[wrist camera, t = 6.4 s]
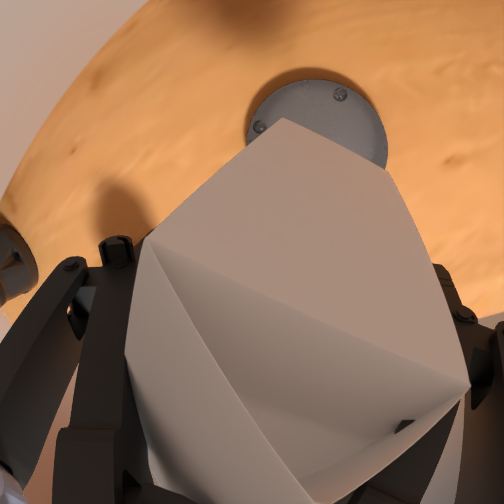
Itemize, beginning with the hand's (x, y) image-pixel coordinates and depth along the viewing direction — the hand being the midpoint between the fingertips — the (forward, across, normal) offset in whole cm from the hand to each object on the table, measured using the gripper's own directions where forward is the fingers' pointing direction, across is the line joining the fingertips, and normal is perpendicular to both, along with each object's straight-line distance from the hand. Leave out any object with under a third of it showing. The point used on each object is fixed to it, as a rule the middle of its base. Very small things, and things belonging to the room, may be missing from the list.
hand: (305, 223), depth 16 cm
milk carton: (+5, 0, 0) cm, 5 cm away
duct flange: (+18, 0, 0) cm, 18 cm away
